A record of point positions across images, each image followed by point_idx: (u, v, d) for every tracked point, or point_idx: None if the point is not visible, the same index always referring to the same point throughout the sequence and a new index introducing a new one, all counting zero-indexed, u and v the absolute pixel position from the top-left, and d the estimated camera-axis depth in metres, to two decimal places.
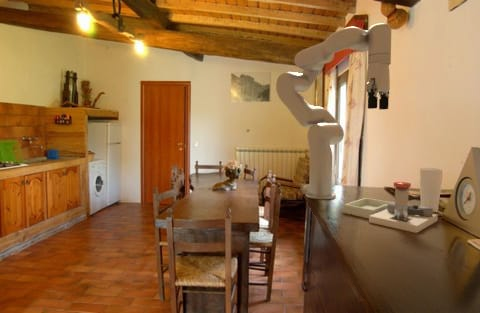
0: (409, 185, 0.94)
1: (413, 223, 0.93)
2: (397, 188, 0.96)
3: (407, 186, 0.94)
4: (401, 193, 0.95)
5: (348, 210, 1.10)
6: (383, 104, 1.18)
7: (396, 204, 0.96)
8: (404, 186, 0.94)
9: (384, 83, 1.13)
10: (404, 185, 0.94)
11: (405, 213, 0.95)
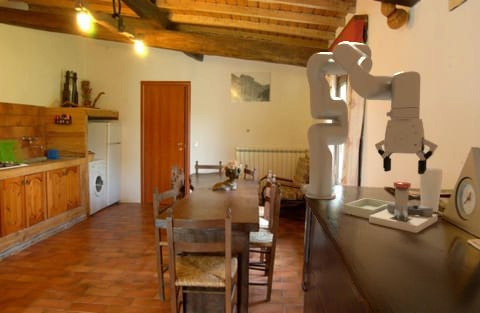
0: (409, 185, 0.94)
1: (413, 223, 0.93)
2: (397, 188, 0.96)
3: (407, 186, 0.94)
4: (401, 193, 0.95)
5: (348, 210, 1.10)
6: (389, 165, 0.98)
7: (396, 204, 0.96)
8: (404, 186, 0.94)
9: None
10: (404, 185, 0.94)
11: (405, 213, 0.95)
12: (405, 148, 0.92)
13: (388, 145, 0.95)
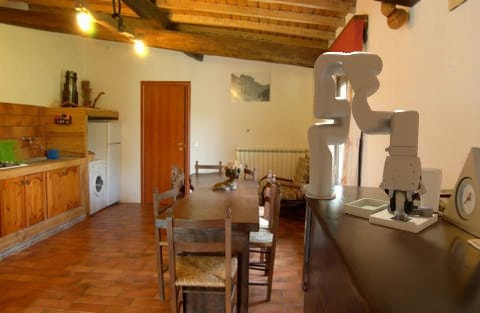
0: None
1: (413, 223, 0.93)
2: None
3: None
4: (401, 193, 0.95)
5: (348, 210, 1.10)
6: None
7: (396, 204, 0.96)
8: None
9: None
10: None
11: None
12: (403, 186, 0.93)
13: (386, 181, 0.97)
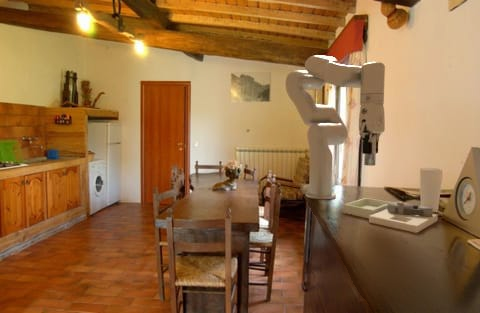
0: None
1: (413, 223, 0.93)
2: None
3: None
4: None
5: (348, 210, 1.10)
6: None
7: (373, 146, 1.09)
8: None
9: None
10: None
11: None
12: (380, 128, 1.09)
13: (373, 126, 1.05)
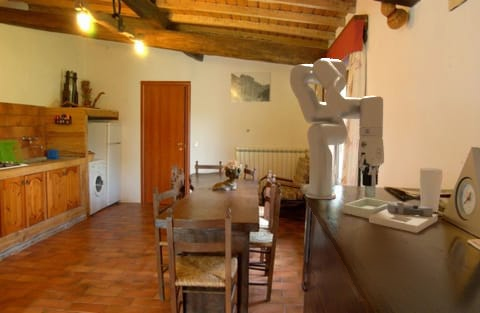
0: None
1: (413, 223, 0.93)
2: None
3: None
4: (375, 167, 1.10)
5: (348, 210, 1.10)
6: None
7: (373, 178, 1.10)
8: None
9: None
10: None
11: None
12: (380, 160, 1.10)
13: (373, 159, 1.06)
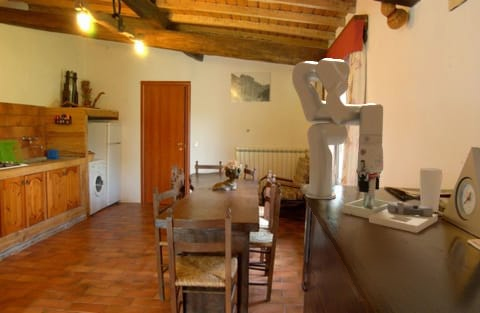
0: None
1: (413, 223, 0.93)
2: (374, 178, 1.09)
3: None
4: (375, 181, 1.10)
5: (348, 210, 1.10)
6: None
7: (372, 192, 1.10)
8: None
9: None
10: None
11: None
12: (379, 168, 1.10)
13: (372, 167, 1.07)
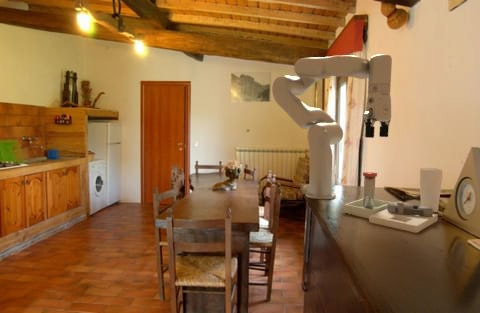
0: None
1: (413, 223, 0.93)
2: (373, 177, 1.10)
3: None
4: None
5: (348, 210, 1.10)
6: None
7: (372, 191, 1.10)
8: None
9: None
10: None
11: None
12: (387, 117, 1.16)
13: (379, 114, 1.13)
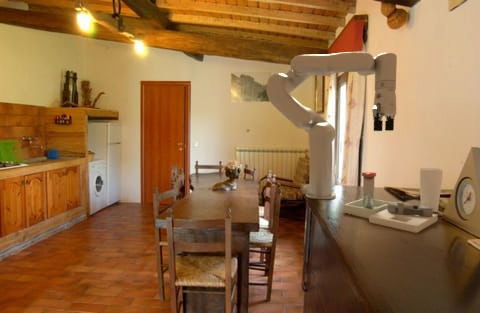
0: None
1: (413, 223, 0.93)
2: (372, 177, 1.10)
3: None
4: None
5: (348, 210, 1.10)
6: None
7: (371, 192, 1.10)
8: None
9: None
10: None
11: None
12: (393, 111, 1.23)
13: (387, 109, 1.20)
